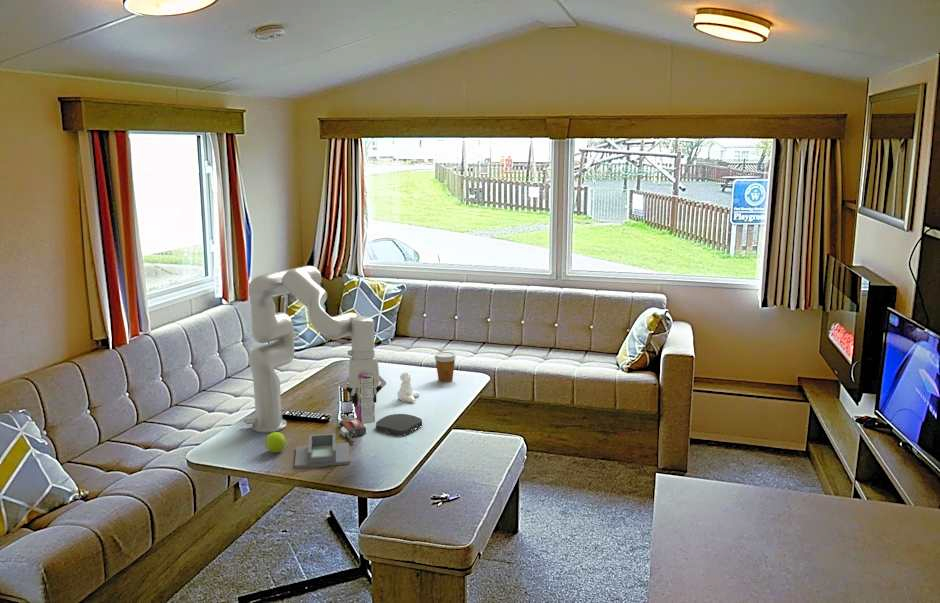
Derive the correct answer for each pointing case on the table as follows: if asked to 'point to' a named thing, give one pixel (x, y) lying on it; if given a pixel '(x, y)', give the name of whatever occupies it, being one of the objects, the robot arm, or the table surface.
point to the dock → (322, 452)
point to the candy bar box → (365, 399)
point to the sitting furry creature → (407, 389)
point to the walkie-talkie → (352, 428)
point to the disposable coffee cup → (445, 366)
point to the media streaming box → (398, 424)
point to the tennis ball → (275, 442)
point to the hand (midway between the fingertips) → (364, 404)
